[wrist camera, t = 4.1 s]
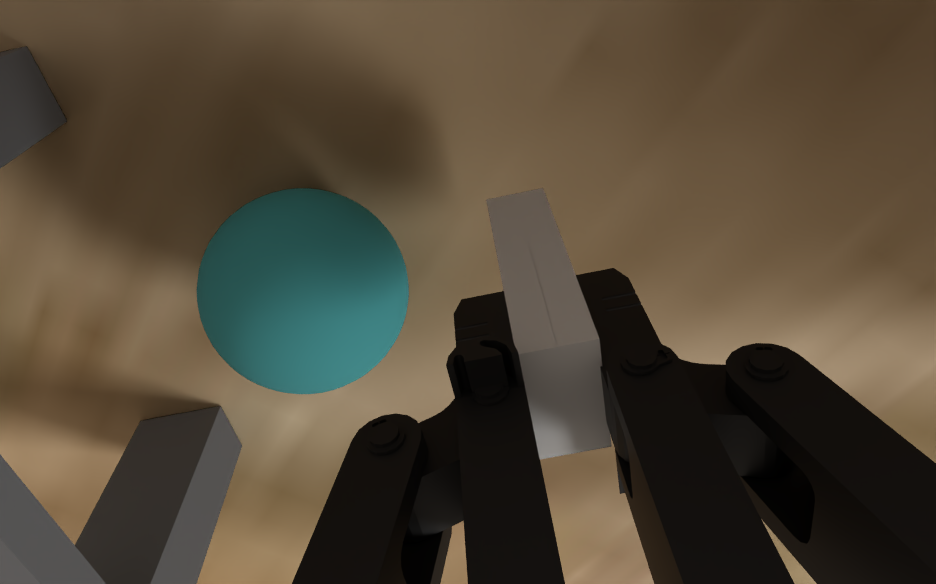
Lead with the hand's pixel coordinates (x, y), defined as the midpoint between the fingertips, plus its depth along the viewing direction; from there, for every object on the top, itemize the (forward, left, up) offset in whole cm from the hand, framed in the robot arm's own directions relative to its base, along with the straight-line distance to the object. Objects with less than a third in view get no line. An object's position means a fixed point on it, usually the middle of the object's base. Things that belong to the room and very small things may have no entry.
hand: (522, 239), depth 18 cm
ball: (+6, 0, 0) cm, 6 cm away
